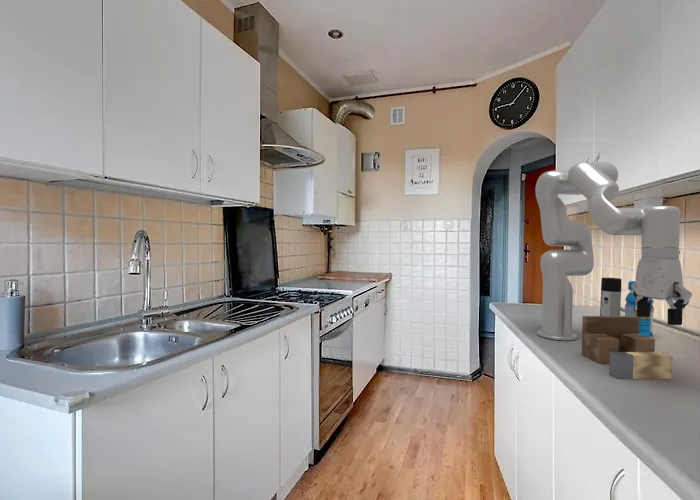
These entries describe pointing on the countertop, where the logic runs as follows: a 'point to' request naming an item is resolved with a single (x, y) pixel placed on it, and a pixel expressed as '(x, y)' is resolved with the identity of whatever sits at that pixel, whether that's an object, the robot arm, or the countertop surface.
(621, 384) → the countertop surface
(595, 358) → the wooden two-prong bracket
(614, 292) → the spray can
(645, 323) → the beverage bottle
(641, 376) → the silver and tan rail
